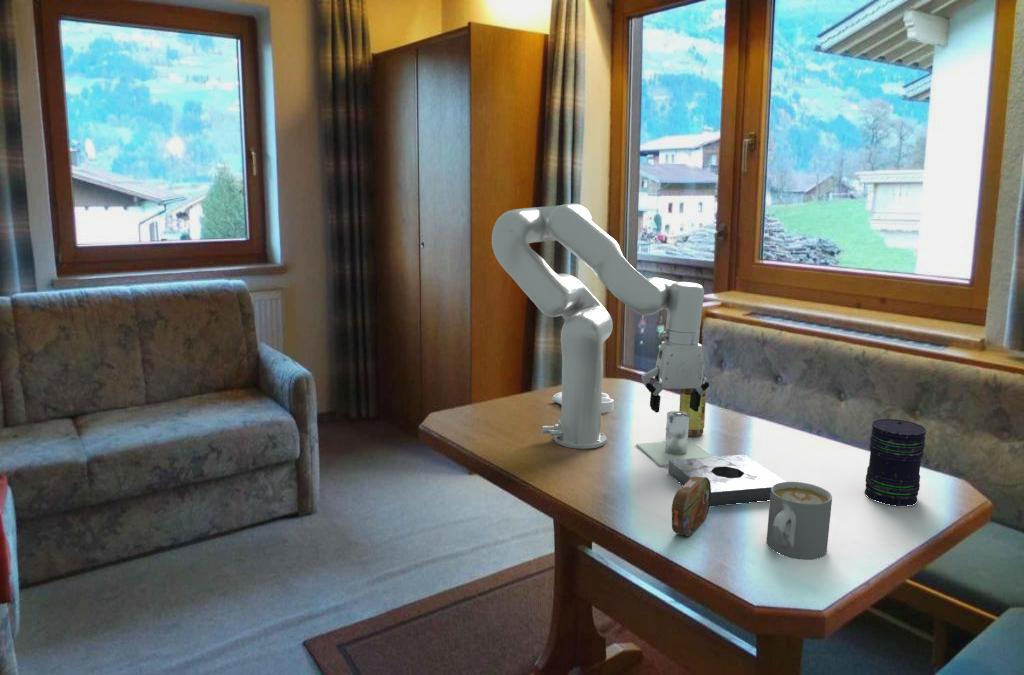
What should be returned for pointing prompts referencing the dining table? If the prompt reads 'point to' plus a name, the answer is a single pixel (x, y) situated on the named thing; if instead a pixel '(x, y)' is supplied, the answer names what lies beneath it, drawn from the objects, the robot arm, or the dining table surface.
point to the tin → (691, 505)
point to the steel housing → (728, 477)
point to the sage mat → (662, 458)
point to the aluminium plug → (677, 433)
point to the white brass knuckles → (606, 402)
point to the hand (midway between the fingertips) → (674, 410)
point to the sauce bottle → (693, 412)
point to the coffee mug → (799, 520)
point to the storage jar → (895, 461)
